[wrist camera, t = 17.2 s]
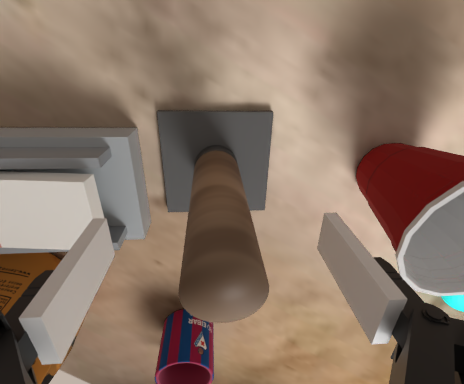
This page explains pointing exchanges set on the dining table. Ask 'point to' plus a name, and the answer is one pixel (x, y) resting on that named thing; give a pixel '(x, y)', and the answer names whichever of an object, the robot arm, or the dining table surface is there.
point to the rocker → (46, 209)
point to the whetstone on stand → (86, 171)
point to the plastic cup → (419, 212)
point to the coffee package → (16, 282)
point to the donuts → (455, 301)
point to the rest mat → (207, 134)
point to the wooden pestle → (220, 244)
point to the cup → (185, 351)
